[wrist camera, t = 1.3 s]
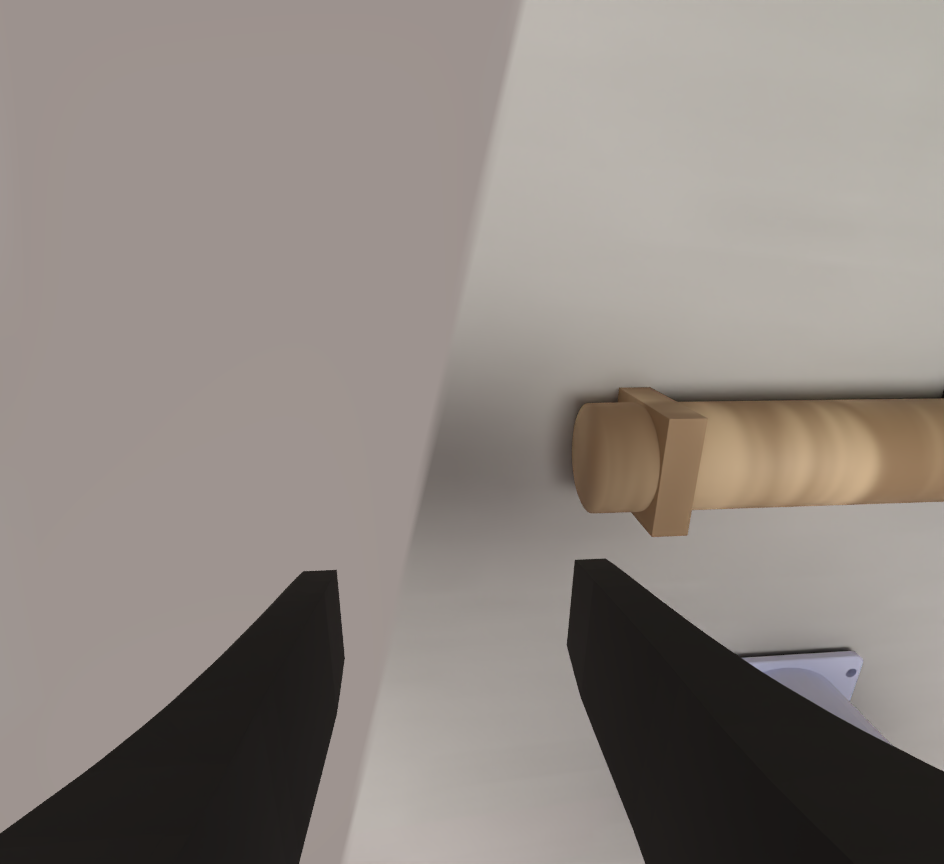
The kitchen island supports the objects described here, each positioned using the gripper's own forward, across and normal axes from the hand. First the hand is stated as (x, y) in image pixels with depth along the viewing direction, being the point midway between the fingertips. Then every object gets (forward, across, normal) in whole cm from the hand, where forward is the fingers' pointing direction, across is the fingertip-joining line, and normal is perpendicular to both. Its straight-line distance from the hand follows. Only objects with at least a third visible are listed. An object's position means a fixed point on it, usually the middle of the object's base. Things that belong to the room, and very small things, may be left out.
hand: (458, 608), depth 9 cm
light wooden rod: (+10, -14, 0) cm, 17 cm away
